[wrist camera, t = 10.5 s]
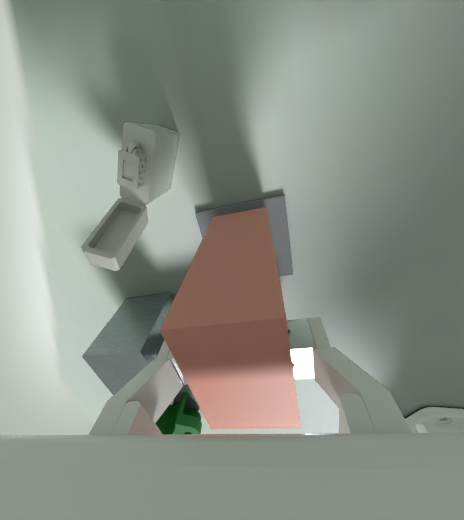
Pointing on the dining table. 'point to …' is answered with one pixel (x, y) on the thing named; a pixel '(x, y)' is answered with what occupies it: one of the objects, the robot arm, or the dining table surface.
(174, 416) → the clamp
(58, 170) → the dining table surface
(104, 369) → the vise
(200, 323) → the tall salmon pink brick
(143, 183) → the lighter
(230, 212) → the mat
